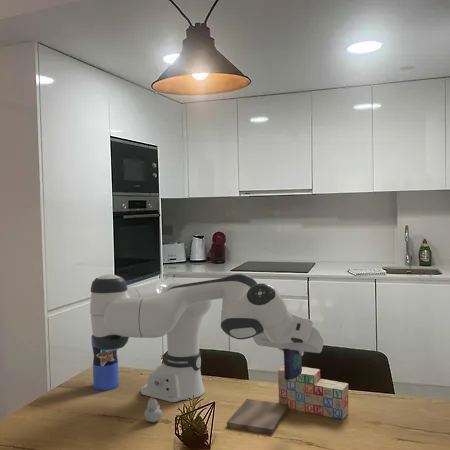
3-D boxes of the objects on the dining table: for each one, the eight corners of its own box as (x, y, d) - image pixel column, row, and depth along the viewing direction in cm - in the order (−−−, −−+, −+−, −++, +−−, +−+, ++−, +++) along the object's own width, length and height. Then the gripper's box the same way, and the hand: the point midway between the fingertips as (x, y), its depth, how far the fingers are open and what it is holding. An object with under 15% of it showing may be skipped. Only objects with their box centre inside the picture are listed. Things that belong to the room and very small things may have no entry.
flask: (295, 369, 146) (295, 334, 146) (304, 371, 145) (304, 335, 144) (282, 379, 139) (281, 342, 138) (291, 381, 137) (291, 343, 137)
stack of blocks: (349, 412, 152) (348, 373, 151) (342, 420, 147) (342, 380, 146) (286, 399, 163) (285, 363, 163) (278, 406, 158) (277, 369, 157)
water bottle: (92, 383, 182) (90, 317, 180) (118, 380, 184) (115, 314, 183) (93, 392, 173) (91, 322, 172) (120, 389, 175) (118, 320, 174)
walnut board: (226, 427, 144) (226, 422, 144) (247, 403, 160) (246, 398, 160) (272, 434, 138) (272, 429, 138) (288, 409, 155) (288, 404, 155)
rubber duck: (140, 424, 147) (139, 398, 147) (150, 414, 153) (149, 389, 153) (157, 426, 145) (156, 399, 145) (166, 416, 152) (165, 391, 151)
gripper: (242, 333, 137) (259, 357, 146) (311, 341, 126) (325, 367, 135) (249, 314, 141) (265, 339, 149) (317, 320, 130) (330, 347, 139)
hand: (294, 352), depth 142 cm, fingers closed on flask, 3 cm apart
